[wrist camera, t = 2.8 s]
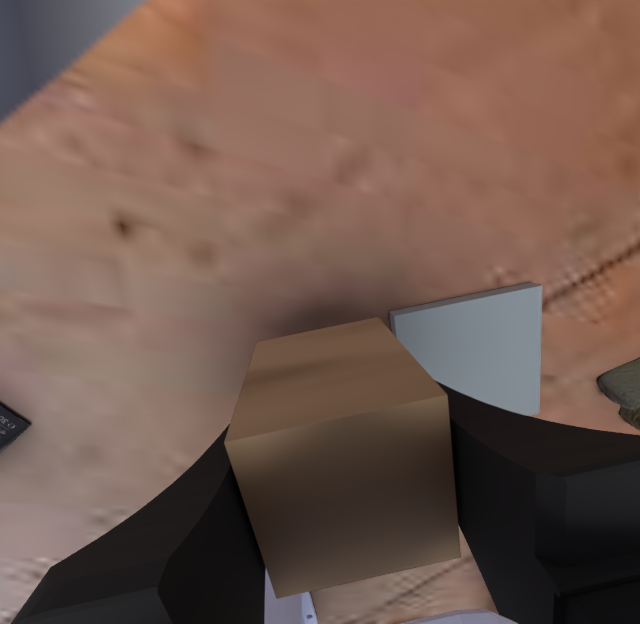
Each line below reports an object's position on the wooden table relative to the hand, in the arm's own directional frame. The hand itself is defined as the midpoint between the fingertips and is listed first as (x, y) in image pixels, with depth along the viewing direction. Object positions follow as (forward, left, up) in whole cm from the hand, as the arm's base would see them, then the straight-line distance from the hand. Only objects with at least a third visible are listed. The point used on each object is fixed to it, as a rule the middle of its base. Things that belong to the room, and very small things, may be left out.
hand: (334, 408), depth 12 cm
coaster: (-4, -9, -8) cm, 13 cm away
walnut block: (0, 0, -2) cm, 2 cm away
